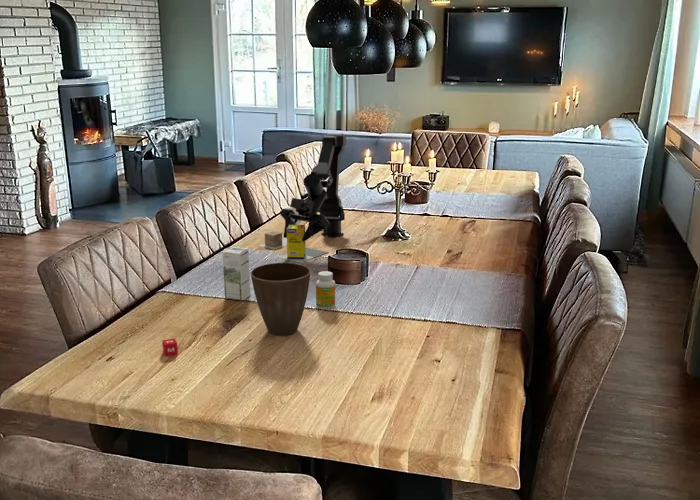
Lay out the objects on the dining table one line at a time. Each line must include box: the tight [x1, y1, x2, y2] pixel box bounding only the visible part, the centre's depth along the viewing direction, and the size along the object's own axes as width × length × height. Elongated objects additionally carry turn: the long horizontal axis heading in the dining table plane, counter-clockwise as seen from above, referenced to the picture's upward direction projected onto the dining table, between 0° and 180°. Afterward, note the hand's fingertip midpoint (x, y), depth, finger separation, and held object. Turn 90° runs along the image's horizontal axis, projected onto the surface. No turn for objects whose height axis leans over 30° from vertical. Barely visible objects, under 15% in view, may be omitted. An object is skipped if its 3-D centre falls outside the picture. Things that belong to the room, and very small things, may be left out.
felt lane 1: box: [258, 237, 287, 250], centre depth 259 cm, size 14×8×1 cm, turn 143°
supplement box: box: [286, 224, 306, 260], centre depth 241 cm, size 6×6×11 cm
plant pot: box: [250, 262, 311, 337], centre depth 177 cm, size 15×15×16 cm
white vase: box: [286, 205, 302, 225], centre depth 275 cm, size 8×8×12 cm
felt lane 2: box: [278, 247, 329, 264], centre depth 245 cm, size 16×10×1 cm, turn 143°
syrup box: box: [222, 246, 251, 302], centre depth 201 cm, size 6×6×14 cm
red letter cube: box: [161, 338, 179, 357], centre depth 165 cm, size 3×3×3 cm
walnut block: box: [264, 230, 283, 247], centre depth 256 cm, size 4×4×4 cm
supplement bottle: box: [315, 270, 336, 310], centre depth 195 cm, size 5×5×10 cm
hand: (293, 239), depth 239 cm, fingers closed on supplement box, 8 cm apart
